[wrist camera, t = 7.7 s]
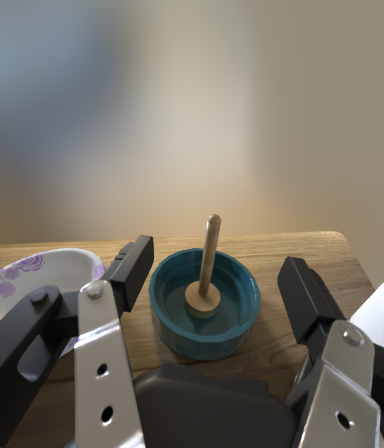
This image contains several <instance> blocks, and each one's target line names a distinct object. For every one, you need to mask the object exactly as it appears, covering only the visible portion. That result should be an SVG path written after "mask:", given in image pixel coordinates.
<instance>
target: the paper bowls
mask: <svg viewBox="0 0 384 448" xmlns="http://www.w3.org/2000/svg"><path fill="white" fill-rule="evenodd" d="M105 271H106V268H105V264H104V262H103V261H102V259H101V258H100V257H98V256H97V255H96V254H94V253H92V252H90V251H87V250H83V249H77V248H64V249H55V250H50V251H45V252H41V253H38V254H34V255H31V256H29V257H26V258H23V259H21V260H18V261H16V262H14V263H12V264H10V265H8V266H6V267H4V268H2V269H0V320H1V319H2V318H3V317H4V316H5V315H6V314H7V313H8V312H9V311H10V310H11V309H12V308H13V307H14V306H15V305H16V304H17V303H18V302H19V301H20V300H21V299H22V298H23V297H24V296H25V295H26V294H28V293H29V292H30V291H32V290H34V289H36V288H38V287H41V286H45V285H54V286H56V287H58V289H59V291H60V292H67V291H76V290H81V289H82V288H83V287H84V286H85V285H87V284H88V283H90V282H93V281H96V280H99V279H100V277H101V276H102V275H103V273H104V272H105ZM78 339H79V337H74V338H71V339H70V341H69V343H68V344H67V346H66V347H65V349H64V351H63V352H62V354H61V356H63V355H64V354H66V353H67V352H69V351H70V350H72V349H73V348H75V342H76V341H78ZM61 356H60V357H61ZM60 357H59V358H60Z"/></svg>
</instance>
